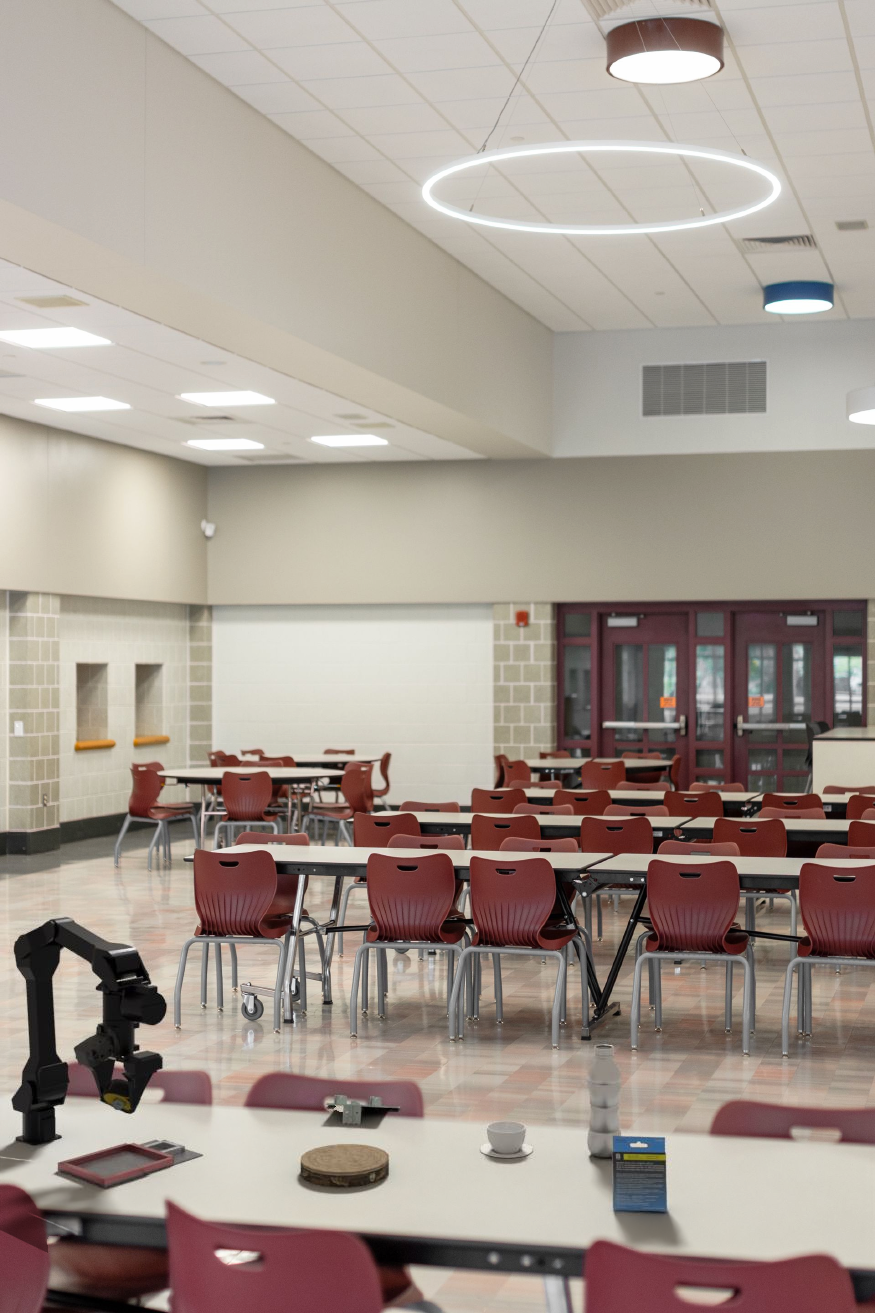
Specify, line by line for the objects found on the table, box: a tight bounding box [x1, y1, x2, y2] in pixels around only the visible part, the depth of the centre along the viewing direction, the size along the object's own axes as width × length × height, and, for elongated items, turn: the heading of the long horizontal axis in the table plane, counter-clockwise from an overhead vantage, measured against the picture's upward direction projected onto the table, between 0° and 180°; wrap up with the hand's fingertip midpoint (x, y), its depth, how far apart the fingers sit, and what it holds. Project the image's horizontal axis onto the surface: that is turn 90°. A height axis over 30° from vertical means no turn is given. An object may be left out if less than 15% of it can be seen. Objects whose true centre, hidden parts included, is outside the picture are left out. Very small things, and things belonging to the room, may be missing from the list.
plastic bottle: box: [586, 1044, 622, 1158], centre depth 271 cm, size 6×7×20 cm
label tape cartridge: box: [611, 1135, 668, 1213], centre depth 243 cm, size 9×4×12 cm, turn 83°
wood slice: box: [300, 1143, 390, 1189], centre depth 262 cm, size 16×16×3 cm
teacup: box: [479, 1120, 534, 1159], centre depth 274 cm, size 10×10×5 cm
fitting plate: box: [57, 1139, 204, 1190], centre depth 267 cm, size 14×22×2 cm, turn 139°
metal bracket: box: [325, 1094, 401, 1125], centre depth 296 cm, size 14×6×15 cm
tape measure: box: [99, 1078, 142, 1115], centre depth 265 cm, size 7×7×4 cm
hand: (118, 1104), depth 265 cm, fingers closed on tape measure, 8 cm apart
